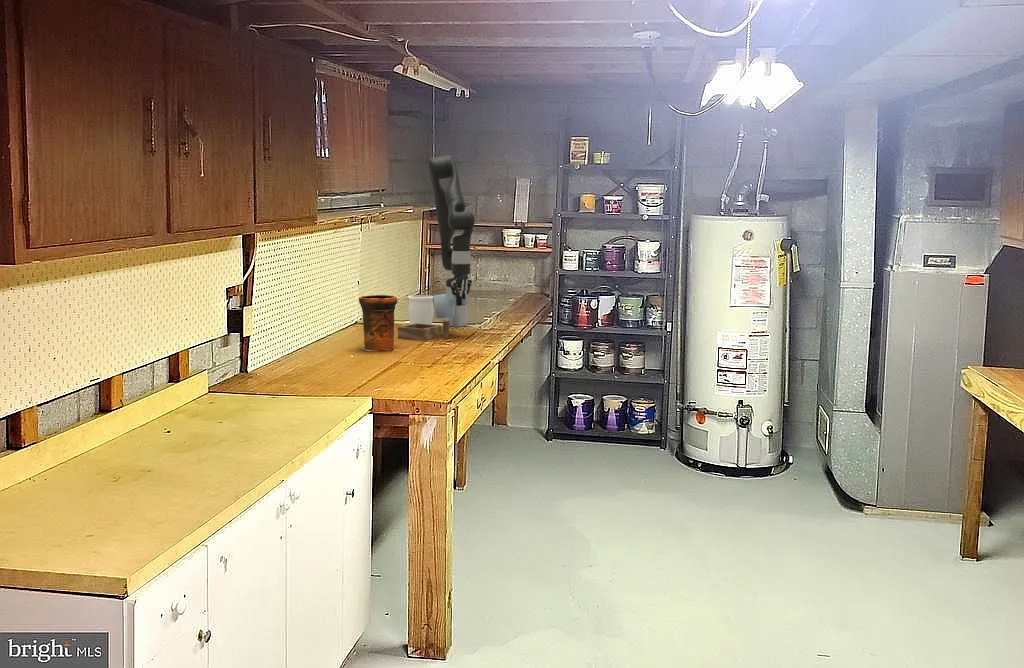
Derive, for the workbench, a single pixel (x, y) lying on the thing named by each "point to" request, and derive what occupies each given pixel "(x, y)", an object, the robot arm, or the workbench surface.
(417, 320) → the jar
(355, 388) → the workbench surface
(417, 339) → the cradle
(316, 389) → the workbench surface
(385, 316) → the vessel
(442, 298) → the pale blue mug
